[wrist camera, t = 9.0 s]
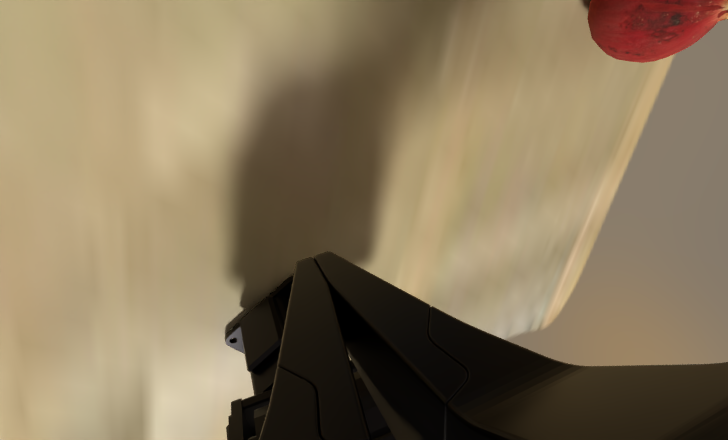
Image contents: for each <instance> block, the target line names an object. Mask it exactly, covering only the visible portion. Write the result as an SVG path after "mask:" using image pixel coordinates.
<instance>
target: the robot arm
mask: <svg viewBox="0 0 728 440" xmlns="http://www.w3.org/2000/svg"><path fill="white" fill-rule="evenodd" d="M291 284H292V285H291ZM231 338H235V339H231ZM225 342H226V344H227V345H228V346H230V347H232V348H234V349H236V350H238V351H240V352H242V353H244V354H245V359H246V365H247V370H248V371H249V372H250V373H251V379H252V385H253V390H254V396H251V397H249V398H246V399H243V400H242V399H238V400H235V401H233V402H231V415H230V416H229V425H228V426H227V427H226V430H227V440H728V362H726V363H715V364H693V365H692V364H690V365H639V366H638V365H637V366H579V365H573V364H568V363H563V362H560V361H557V360H554V359H551V358H548V357H545V356H543V355H541V354H538V353H535V352H533V351H531V350H528V349H526V348H523V347H521V346H519V345H516V344H514V343H511V342H509V341H506V340H504V339H501V338H499V337H497V336H494V335H492V334H489V333H487V332H485V331H482V330H480V329H478V328H475V327H473V326H471V325H469V324H466V323H464V322H462V321H460V320H458V319H456V318H454V317H452V316H450V315H448V314H446V313H444V312H442V311H441V310H439V309H437V308H435V307H433V306H432V307H430V305H429V304H427V303H425V302H423V301H422V300H420V299H418V298H416V297H414V296H412V295H410V294H408V293H407V292H405V291H403V290H401V289H399V288H397V287H395V286H394V285H392V284H390V283H388V282H386V281H384V280H382V279H380V278H379V277H377V276H375V275H373V274H371V273H369V272H367V271H365V270H364V269H362V268H360V267H358V266H356V265H354V264H352V263H351V262H349V261H347V260H345V259H343V258H341V257H339V256H337V255H336V254H334V253H332V252H325V253H322V254H319V255H316V256H315V257H314V259H313V258H312V257H310V258H307V259H304V260H300V261H298V262H297V263H296V266H295V272H294V276H292V277H290V278H288V279H287V280H286V281H285V282H284V283H282V284H281V285H280V286H279V287H278V288H277V289H276V290H275V291H274V292H272V293H271V294H270V295H269V296H268V297H266V298H265V299H264V300H263V301H262V302H261V303H259V304H258V305H257V306H256V307H255V308H254V309H253V310H252V311H251V312H249V313H248V314H247V315H246V316H245V317H244V318H243V319H242V320H241V321H240V322H239V323H238V324H237V325H236V326H235V327H234V328H232V329H231V330H230V331H229V332H228V333H227V334H226V335H225ZM348 354H349V356H350V358H351V360H350V358H349V356H348Z"/></svg>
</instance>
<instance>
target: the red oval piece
mask: <svg viewBox="0 0 728 440" xmlns="http://www.w3.org/2000/svg"><path fill="white" fill-rule="evenodd" d="M725 19H728V0H591V2H590V6H589V13H588V23H589V27H590V31H591V36H592V39H593V40H594V41H595V42H596V44H597V45H598V46H599V47H600V48H601V49H602V50H603V51H604V52H605V53H606V54H608V55H610V56H612V57H614V58H616V59H619V60H625V61H632V62H642V63H643V62H651V61H656V60H659V59H663V58H666V57H668V56H670V55H673V54H675V53H677V52H680V51H682V50H683V49H686V48H688V47H689V46H691V45H692V44H694V43H695V42H697V41H698V40H699V39H700V38H702V37H703V36H704V35H705V34H706V33H707V32H708V31H709V30H711V29H712V28H713V27H714V26H715V25H716V23H717V22H718V21H721V20H725Z"/></svg>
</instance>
